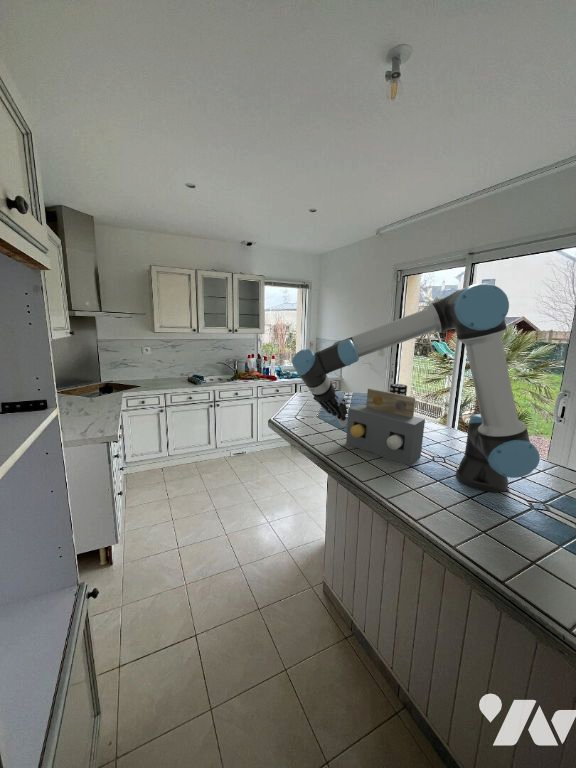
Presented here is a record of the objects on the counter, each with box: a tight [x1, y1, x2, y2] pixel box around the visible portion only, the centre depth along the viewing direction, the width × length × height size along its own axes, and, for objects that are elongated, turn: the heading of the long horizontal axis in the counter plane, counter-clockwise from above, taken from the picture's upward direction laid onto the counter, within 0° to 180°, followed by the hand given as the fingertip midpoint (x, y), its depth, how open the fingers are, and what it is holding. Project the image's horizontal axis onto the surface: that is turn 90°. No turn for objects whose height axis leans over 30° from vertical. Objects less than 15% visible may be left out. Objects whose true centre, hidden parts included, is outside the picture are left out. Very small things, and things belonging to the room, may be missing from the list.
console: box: [345, 403, 426, 467], centre depth 127 cm, size 10×28×16 cm, turn 46°
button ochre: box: [350, 424, 366, 438], centre depth 128 cm, size 4×5×5 cm
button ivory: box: [387, 434, 404, 450], centre depth 117 cm, size 4×5×5 cm
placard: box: [365, 388, 416, 418], centre depth 127 cm, size 1×20×8 cm, turn 46°
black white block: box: [389, 383, 408, 396], centre depth 163 cm, size 8×8×20 cm
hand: (344, 423), depth 121 cm, fingers closed
